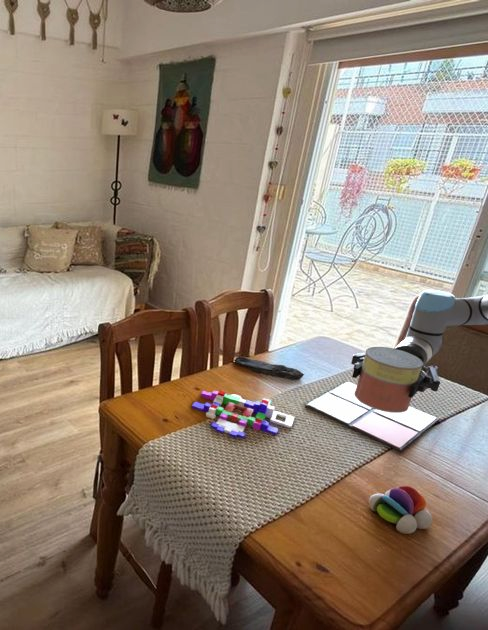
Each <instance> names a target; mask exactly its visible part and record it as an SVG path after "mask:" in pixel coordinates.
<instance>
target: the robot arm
mask: <svg viewBox="0 0 488 630" xmlns="http://www.w3.org/2000/svg"><path fill="white" fill-rule="evenodd" d="M476 325H477V326H487V325H488V294H483V295H479V296H472V297H455V295H454V294H453V293H451V292H447V291H444V290H435V289H426V290H423V291H421V292H420V293H419V296H418V298H417V300H416V302H415V305H414V309H413V313H412V317H411V320H410V324H409V326H408V329H407V333H406V336H405V338H404V340H402V341H401V342H400V343H399V344H397V345H396V346H395V347H394V349H398V350H402V351H405V352H408V353H410V354H413V355H415V356H416V357H418V358H419V359H421V360H422V362H423V366H422V368H421V371H420V374H419V377H418V380H417V381H416V382H415V383H414V384H413V385H412V386H411V389H410V392H409V395H408V397H411V399H412V398H414V397H415V396H416V394H418V392H420V393H424V392H425V391H426V390H428V389H430V391H432V392H436V393H437V392H438V390H439V387H440V385H441V380H440V378H439V377H440V376H439V375H438V372H437V371H438V369H439V368H438V366H436V365H431V366H429V365H428V366H426V364H427V363H428V362H429V361H430V360H431V359H432V358H433V357H434V356H435V355H437V353H438V352H439V351H440V349H441V348H442V344H443V340H442V339H443V335H444V333H445V331H446V327H452V326H476ZM365 354H366V351H365V352H360V353H356V354H352V358H351V362H350V364H351V365H353V371H352V376H351V377H352V378H354V379H357V378H359V376H360V372H361V368H362V365H363V361H364V358H365Z"/></svg>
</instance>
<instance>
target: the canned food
mask: <svg viewBox="0 0 488 630" xmlns="http://www.w3.org/2000/svg"><path fill="white" fill-rule="evenodd" d="M394 348H395V347H394ZM394 348H393V347H387V346H371V347H369V348H367V349H366V350H365V352H366V354H365V358H364V361H363V365H362V368H361V372H360V375H359V376H358V379H357V384H356V385H357V386H356V390H355V392H354V395H355V397H356V398H357V399H358V400H359V401H360V402H361V403H363V404H365V405H367V406H369V407H371V408H374V409H377V410H380V411H384V412H390V413H402V412H405V411H407V410H408V408H409V407H410V404H411V400H412V398H411V397H408V395H409V392H410V389H411V386H412V385H413V384H414V383H415V382H416V381H417V380H418V377H419V374H420V371H421V368H422V366H423V362H422V360H421V359H419V358H418V357H416V356H415V355H413V354H410V353H408V352H405V351H402V350H398V349H394Z"/></svg>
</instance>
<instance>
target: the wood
mask: <svg viewBox="0 0 488 630" xmlns="http://www.w3.org/2000/svg"><path fill="white" fill-rule="evenodd" d="M230 363H231V364H234V365H236V366H238V367H241V368H244V369H249V370H250V372H252V373H254V374H259V375H264V376H268V377H272V378H280V379H285V380H289V381H298V380H301V379H302V378H303V377H304V376H305V374H304V373H303V372H302V371H300V370H298V369H297V368H294V367H289V366H286V365H285V364H278V363H277V364H275V363H269V362H266V361H262V360H258V359H253V358H250V357H246V356H237V357H235V358H234V359H233V361H231V362H230Z"/></svg>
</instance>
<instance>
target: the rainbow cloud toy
mask: <svg viewBox="0 0 488 630" xmlns="http://www.w3.org/2000/svg"><path fill="white" fill-rule="evenodd" d="M368 505H369V508H370V510H371V511H373V512H377V513H378V515H379V516H380V517H381V518H382V519H384V520H385V521H387V522H388V523H391V524H395V525H396V526H395V529H396V531H397V532H399V533H401V534H406V535H411V534H412V533H414V532H415V531H416V530H417V529H420V530H426V529H428V528H430V527H431V526H432V525H433V516H432V514H431V513H430V512H429V511H428V510H427V509H426V505H427V502H426V499H425V497H424V496H423V495H422V494H421V493H419V491H418V490H417V489H415V488H414V487H412V486H410V485H401V486H399V487H393V488H391V489H388V490H387V491H386V492H385V493H384V494H383V493H373V494H372V495H370V497H369V499H368Z"/></svg>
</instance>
